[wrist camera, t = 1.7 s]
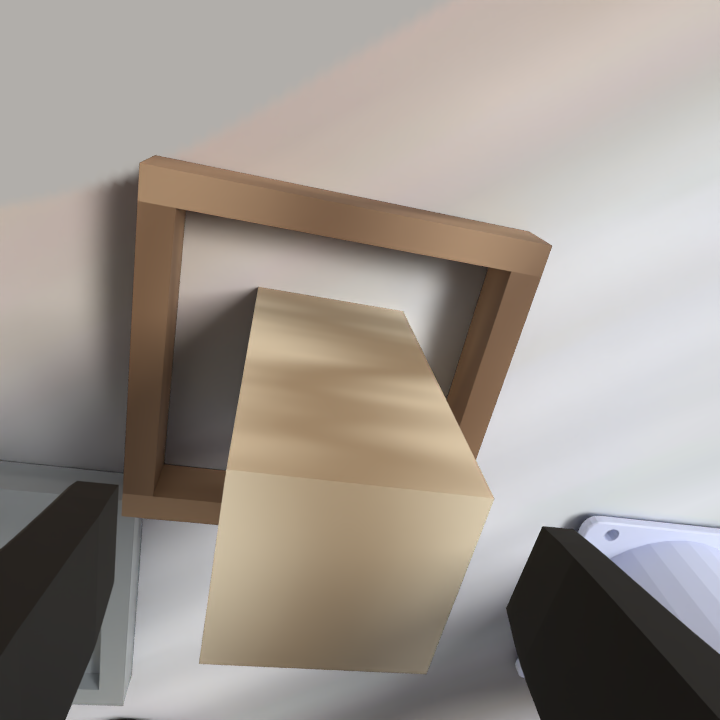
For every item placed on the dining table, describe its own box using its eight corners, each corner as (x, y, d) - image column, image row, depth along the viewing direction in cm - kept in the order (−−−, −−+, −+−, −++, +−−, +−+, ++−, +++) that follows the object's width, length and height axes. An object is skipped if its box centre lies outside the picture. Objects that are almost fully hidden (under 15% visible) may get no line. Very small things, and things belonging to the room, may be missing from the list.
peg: (402, 311, 16) (493, 498, 9) (371, 432, 17) (426, 674, 10) (258, 286, 15) (226, 469, 8) (239, 415, 17) (199, 663, 9)
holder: (529, 231, 15) (551, 245, 14) (434, 513, 19) (445, 545, 18) (155, 155, 13) (139, 162, 12) (134, 482, 17) (121, 516, 16)
